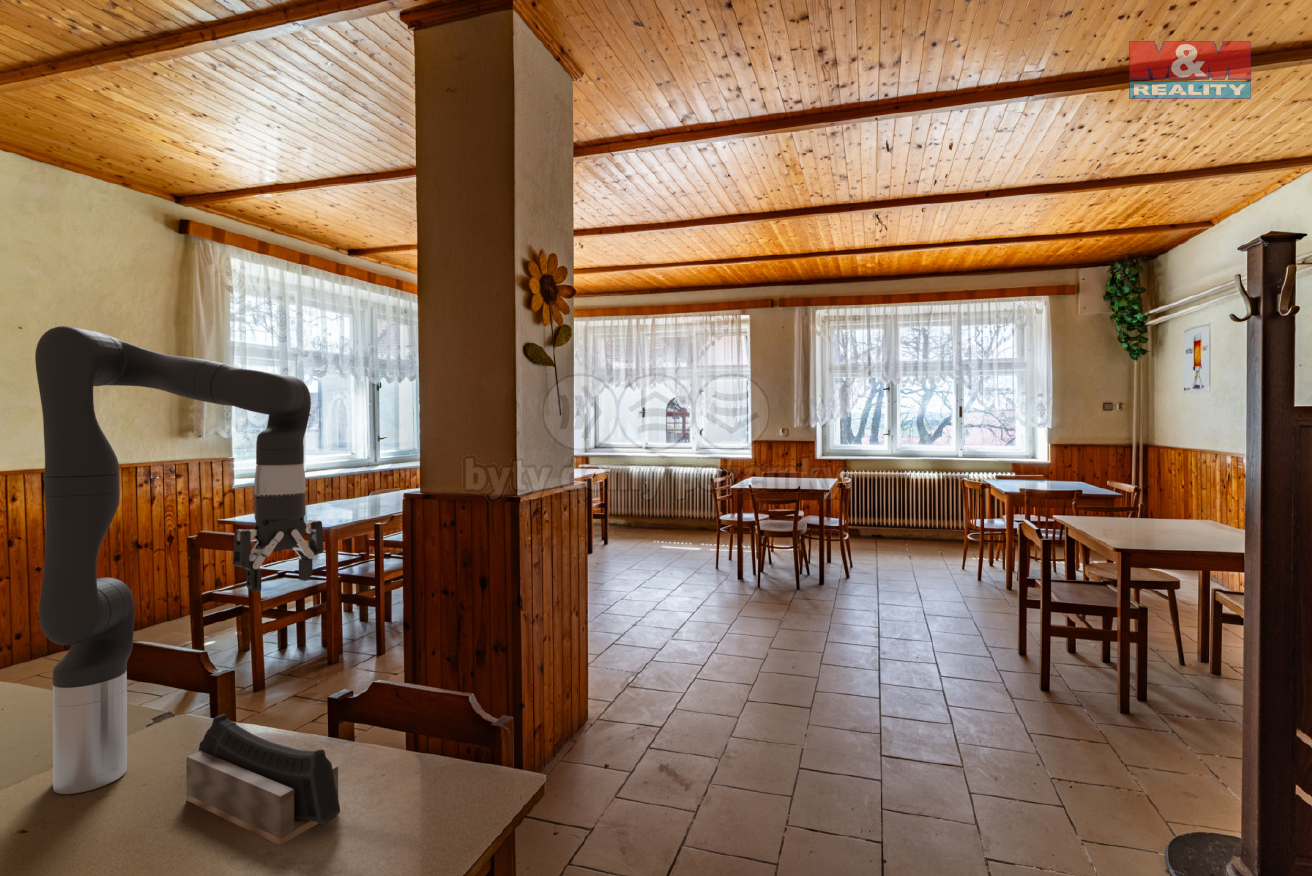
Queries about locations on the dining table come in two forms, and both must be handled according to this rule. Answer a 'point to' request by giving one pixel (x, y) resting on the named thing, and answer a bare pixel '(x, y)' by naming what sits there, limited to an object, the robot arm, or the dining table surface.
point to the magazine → (278, 767)
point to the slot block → (245, 797)
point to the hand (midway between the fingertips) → (280, 585)
